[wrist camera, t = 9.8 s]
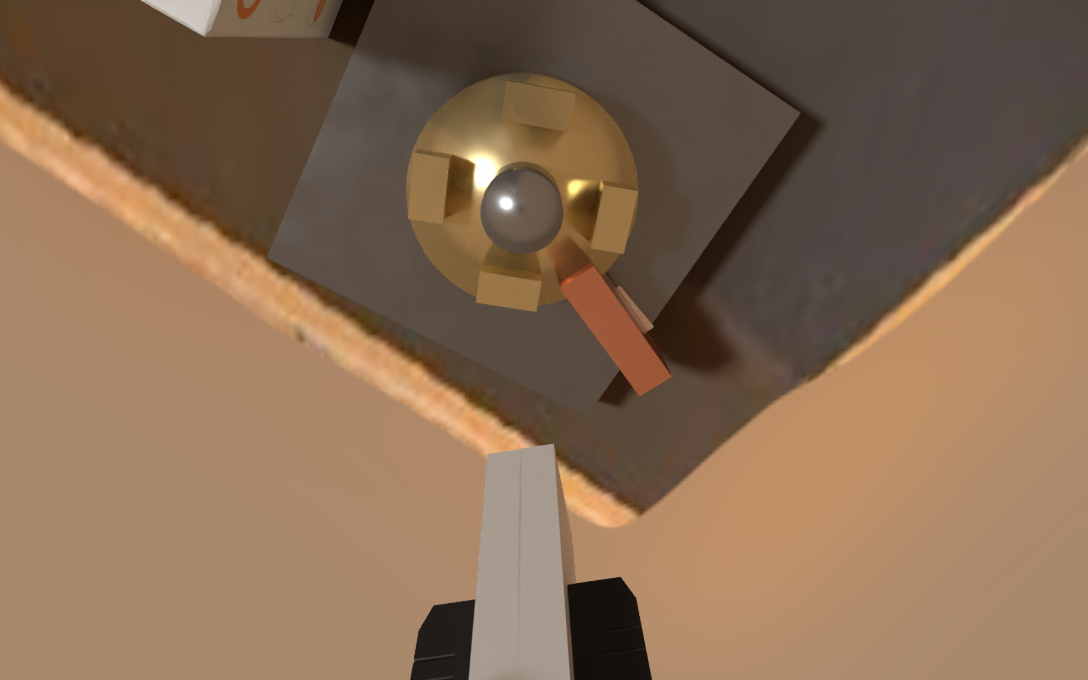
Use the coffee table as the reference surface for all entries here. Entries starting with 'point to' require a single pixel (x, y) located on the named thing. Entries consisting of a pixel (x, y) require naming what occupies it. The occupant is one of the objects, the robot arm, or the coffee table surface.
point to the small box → (253, 17)
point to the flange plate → (559, 41)
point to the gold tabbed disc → (586, 192)
